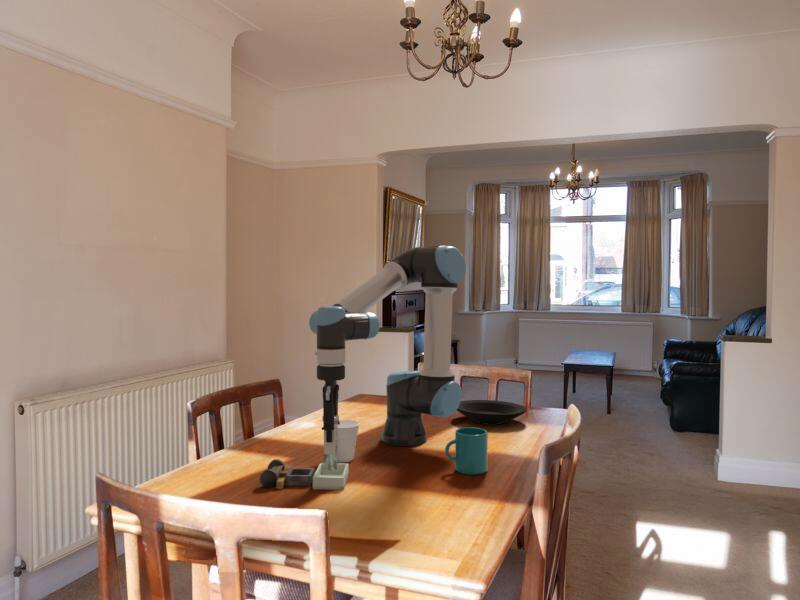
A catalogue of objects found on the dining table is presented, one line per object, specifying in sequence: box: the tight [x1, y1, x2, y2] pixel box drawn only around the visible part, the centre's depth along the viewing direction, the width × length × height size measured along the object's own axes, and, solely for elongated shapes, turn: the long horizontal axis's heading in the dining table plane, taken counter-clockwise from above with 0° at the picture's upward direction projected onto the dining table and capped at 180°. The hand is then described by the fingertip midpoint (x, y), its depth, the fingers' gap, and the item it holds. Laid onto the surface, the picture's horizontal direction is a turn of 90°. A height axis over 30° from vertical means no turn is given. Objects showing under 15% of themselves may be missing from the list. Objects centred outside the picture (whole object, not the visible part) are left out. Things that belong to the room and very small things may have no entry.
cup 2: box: [444, 426, 489, 476], centre depth 169 cm, size 9×12×11 cm
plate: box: [456, 399, 527, 426], centre depth 227 cm, size 28×24×6 cm
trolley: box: [259, 458, 316, 490], centre depth 160 cm, size 13×11×4 cm
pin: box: [321, 415, 340, 471], centre depth 160 cm, size 4×4×14 cm
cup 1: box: [337, 419, 360, 464], centre depth 179 cm, size 10×10×11 cm
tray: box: [312, 462, 350, 491], centre depth 160 cm, size 8×12×3 cm, turn 179°
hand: (330, 451), depth 160 cm, fingers closed on pin, 3 cm apart
